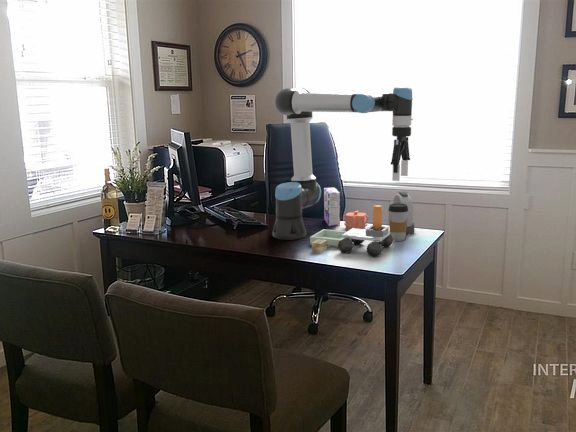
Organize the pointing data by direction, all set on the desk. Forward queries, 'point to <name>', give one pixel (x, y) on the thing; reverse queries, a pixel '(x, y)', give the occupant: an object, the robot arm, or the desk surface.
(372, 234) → the trolley
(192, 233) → the desk surface
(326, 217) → the candy box
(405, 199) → the grey rounded piece
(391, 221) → the coffee cup
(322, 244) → the chock
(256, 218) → the desk surface
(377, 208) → the pin
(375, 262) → the desk surface
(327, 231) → the tray
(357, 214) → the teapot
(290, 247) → the desk surface
